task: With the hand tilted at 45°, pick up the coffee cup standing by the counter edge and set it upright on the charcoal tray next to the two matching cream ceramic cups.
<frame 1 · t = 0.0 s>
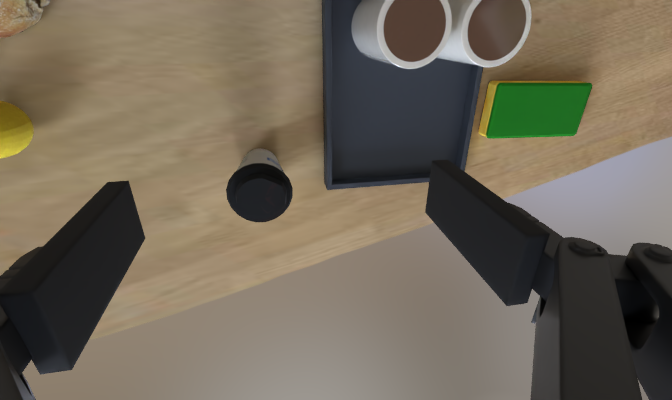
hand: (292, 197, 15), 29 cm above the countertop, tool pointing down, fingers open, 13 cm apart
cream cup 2: (446, 26, 41), resting on cup tray
cream cup 1: (381, 26, 39), resting on cup tray
dish sponge: (526, 107, 48), on the countertop
cup tray: (399, 88, 44), on the countertop
lemon: (19, 119, 38), on the countertop
coffee cup: (260, 164, 45), on the countertop
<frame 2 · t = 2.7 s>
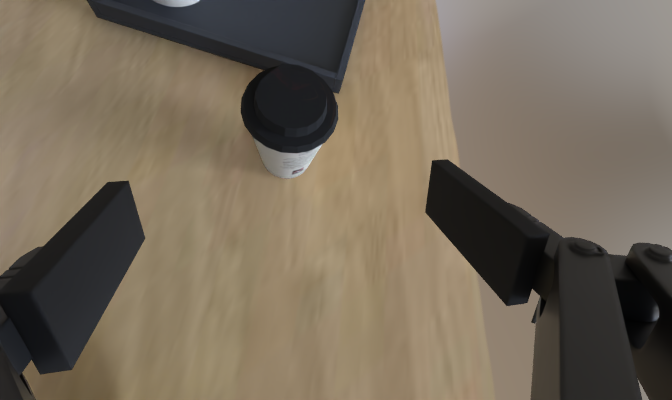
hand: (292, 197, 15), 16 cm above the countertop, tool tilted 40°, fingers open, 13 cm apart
coffee cup: (286, 156, 33), on the countertop
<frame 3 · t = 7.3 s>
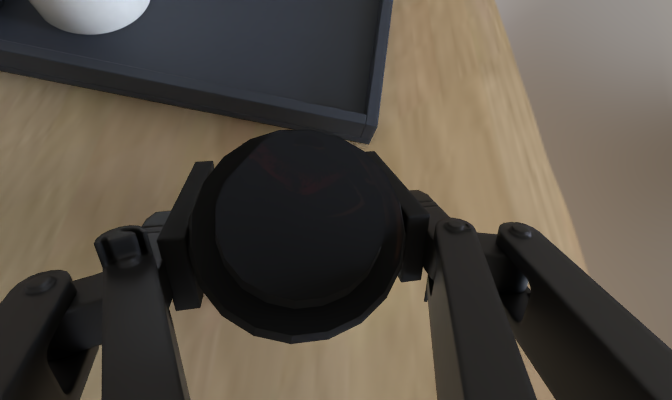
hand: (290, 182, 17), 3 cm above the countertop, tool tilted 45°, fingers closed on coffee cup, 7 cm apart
coffee cup: (295, 265, 19), on the countertop, touching gripper
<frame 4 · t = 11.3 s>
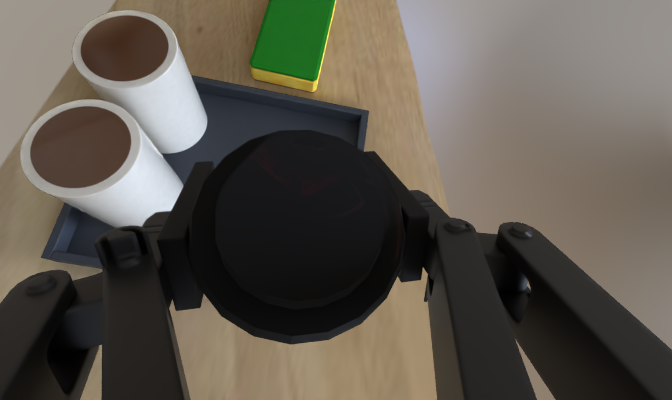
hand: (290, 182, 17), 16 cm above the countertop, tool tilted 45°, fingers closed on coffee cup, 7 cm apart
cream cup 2: (170, 121, 34), resting on cup tray
cream cup 1: (143, 197, 31), resting on cup tray
dish sponge: (296, 39, 40), on the countertop
cup tray: (230, 183, 33), on the countertop
coffee cup: (295, 265, 19), point 13 cm above the countertop, touching gripper
when the fingers open (4 cm above the countertop, at t = 15.6 s): coffee cup stays where it is, resting on cup tray.
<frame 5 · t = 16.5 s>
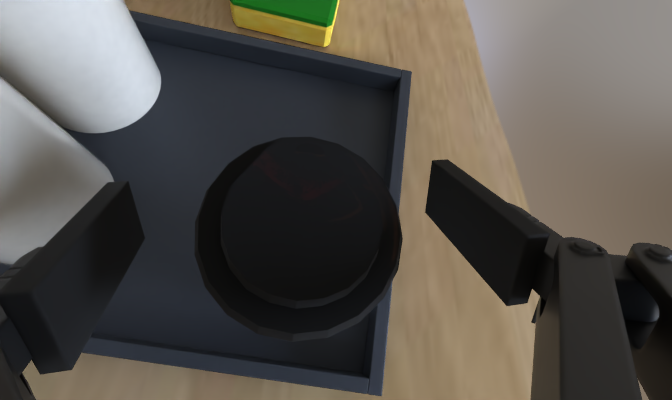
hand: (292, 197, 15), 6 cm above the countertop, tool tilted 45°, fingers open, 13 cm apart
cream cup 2: (102, 84, 22), resting on cup tray
cream cup 1: (47, 203, 19), resting on cup tray
cup tray: (194, 181, 21), on the countertop
coffee cup: (296, 266, 20), resting on cup tray
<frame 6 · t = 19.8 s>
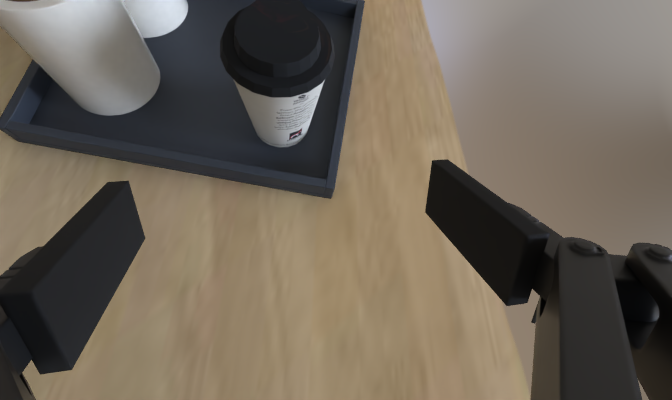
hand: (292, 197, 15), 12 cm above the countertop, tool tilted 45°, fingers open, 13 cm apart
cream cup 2: (147, 7, 31), resting on cup tray
cream cup 1: (115, 79, 29), resting on cup tray
cup tray: (212, 72, 31), on the countertop
coffee cup: (281, 124, 29), resting on cup tray
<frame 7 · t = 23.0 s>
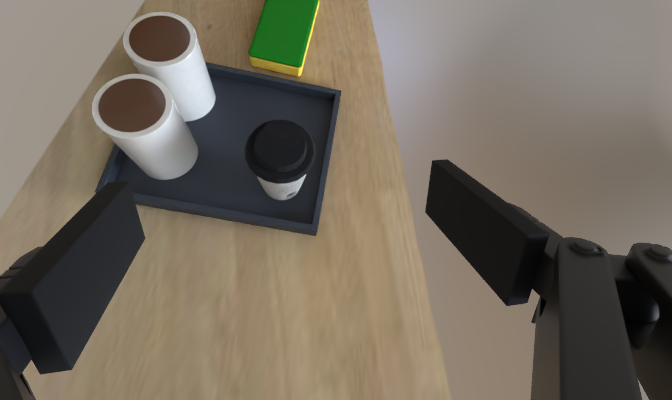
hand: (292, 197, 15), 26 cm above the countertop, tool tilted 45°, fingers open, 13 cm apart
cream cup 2: (187, 97, 44), resting on cup tray
cream cup 1: (167, 153, 41), resting on cup tray
dish sponge: (286, 35, 50), on the countertop
cup tray: (233, 144, 44), on the countertop
coffee cup: (281, 183, 42), resting on cup tray
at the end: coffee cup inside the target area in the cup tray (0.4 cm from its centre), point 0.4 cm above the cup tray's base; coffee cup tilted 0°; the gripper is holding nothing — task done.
